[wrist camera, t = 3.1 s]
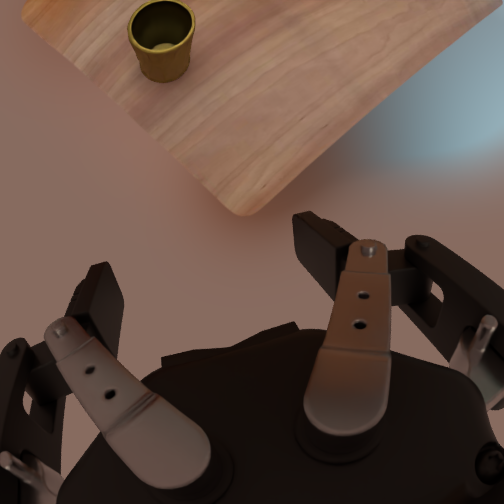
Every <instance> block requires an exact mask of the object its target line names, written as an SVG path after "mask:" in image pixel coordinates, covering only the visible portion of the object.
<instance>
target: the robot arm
mask: <svg viewBox="0 0 504 504" xmlns="http://www.w3.org/2000/svg"><path fill="white" fill-rule="evenodd" d="M292 223H293V234H294V246H295V252H296V255H297V258H298V260H299V261H300V263H301V264H302V265H303V266H304V267H305V268H306V269H307V271H308V272H309V273H310V274H311V275H312V276H313V278H314V279H315V280H316V281H317V282H318V283H319V285H320V286H321V287H322V288H323V289H324V290H325V291H326V293H327V294H328V295H329V296H330V297H331V299H332V300H333V301H334V305H333V309H332V313H331V317H330V321H329V324H328V328H327V330H321V329H302V330H299V328H298V327H297V325H296V323H295V322H290V323H287V324H283V325H280V326H277V327H274V328H271V329H268V330H264V331H261V332H259V333H257V334H255V335H254V336H251V337H249V338H248V339H246V340H243V341H242V342H239V343H238V344H235V345H234V346H231V347H226V348H212V349H196V350H190V351H186V352H182V353H177V354H173V355H169V356H164V357H161V365H162V367H161V368H159V369H157V370H155V371H153V372H152V373H150V374H149V375H147V376H146V377H144V378H143V379H142V380H141V381H139V380H138V379H137V378H136V377H135V376H133V375H132V374H131V373H130V372H129V371H128V370H127V369H126V368H125V367H124V366H123V365H122V364H121V363H120V362H119V361H118V360H117V354H118V346H119V338H120V330H121V323H122V317H123V310H124V299H123V295H122V292H121V290H120V288H119V285H118V283H117V281H116V278H115V276H114V273H113V271H112V268H111V266H110V264H109V263H108V262H107V261H106V262H102V263H99V264H95V265H91V267H90V269H89V271H88V273H87V276H86V278H85V279H83V280H82V281H81V283H80V284H79V285H78V286H77V287H76V289H75V291H74V294H73V296H72V298H71V302H70V303H69V306H68V308H67V311H66V313H65V316H64V317H62V318H59V319H57V320H56V321H54V322H53V323H52V324H50V325H49V327H48V328H47V329H46V331H45V333H44V339H45V341H43V342H41V343H39V344H36V345H34V346H32V347H30V345H29V344H28V343H27V341H26V340H25V339H24V338H17V339H14V340H12V341H11V342H9V343H8V344H7V345H6V346H5V347H4V349H3V350H2V352H1V354H0V504H504V448H502V446H500V444H499V443H498V441H497V439H496V437H495V435H494V433H493V430H492V428H491V425H490V422H489V418H488V415H487V412H488V411H489V410H499V409H502V408H504V289H502V288H501V287H500V286H499V285H497V284H496V283H495V282H493V281H492V280H491V279H490V278H488V277H487V276H486V275H484V274H483V273H482V272H480V271H479V270H478V269H476V268H475V267H474V266H472V265H471V264H470V263H468V262H467V261H465V260H464V259H463V258H461V257H460V256H458V255H457V254H455V253H454V252H453V251H451V250H450V249H448V248H447V247H445V246H444V245H442V244H441V243H439V242H438V241H436V240H435V239H433V238H431V237H428V236H424V235H412V236H409V237H408V238H407V239H406V240H405V248H404V249H400V250H390V251H388V250H387V247H386V245H385V244H383V243H381V242H379V241H376V240H371V239H363V240H358V239H357V238H355V237H354V236H353V235H351V234H350V233H349V232H347V231H345V230H344V229H343V228H340V226H339V225H337V224H336V223H334V222H333V221H329V220H326V219H321V218H320V217H318V216H317V215H315V214H314V213H313V212H311V211H307V212H302V213H298V214H294V215H293V218H292ZM433 281H434V282H435V283H436V284H437V285H439V287H440V288H441V289H442V291H443V295H444V300H443V303H442V302H441V301H440V300H439V299H438V298H437V297H436V296H434V295H433V294H432V293H431V288H432V283H433ZM397 305H398V306H399V308H400V309H401V310H402V311H403V312H404V313H405V314H406V315H407V316H408V317H409V318H410V320H411V321H412V322H413V323H414V324H415V325H416V326H417V327H418V328H419V329H420V330H421V332H422V333H423V334H424V335H425V336H426V337H427V338H428V339H429V340H430V342H431V343H432V344H433V345H434V346H435V347H436V348H437V350H438V351H439V352H440V353H441V354H442V355H443V357H444V358H445V359H446V360H447V361H448V362H449V368H448V367H444V366H441V365H437V364H434V363H430V362H427V361H424V360H420V359H416V358H414V357H410V356H407V355H403V354H400V353H397V352H394V351H391V350H390V339H391V338H390V337H391V306H397ZM25 391H26V392H27V393H28V394H29V395H30V396H31V398H32V399H33V400H32V404H31V409H30V414H29V415H28V414H27V413H26V411H25V410H24V406H23V396H24V392H25ZM71 393H74V395H75V396H76V398H77V399H78V401H79V402H80V404H81V405H82V407H83V408H84V409H85V411H86V412H87V413H88V415H89V416H90V418H91V419H92V421H93V422H94V423H95V425H96V426H97V427H98V429H99V430H100V433H99V434H98V435H97V437H96V438H95V440H94V441H93V442H92V444H91V445H90V446H89V448H88V449H87V450H86V452H85V453H84V454H83V456H82V457H81V458H80V460H79V461H78V462H77V464H76V465H75V466H74V468H73V469H72V470H71V472H70V473H69V475H68V476H67V477H66V479H65V480H64V479H63V478H62V476H61V445H62V431H63V419H64V409H65V401H66V395H69V394H71Z"/></svg>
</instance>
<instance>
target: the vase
mask: <svg viewBox="0 0 504 504" xmlns="http://www.w3.org/2000/svg"><path fill="white" fill-rule="evenodd" d="M127 30H128V38H129V41H130V43H131V45H132V47H133V49H134V51H135V53H136V56H137V58H138V60H139V61H140V68H141V71H142V73H143V74H144V75H145V76H146V77H147V78H148V79H150V80H151V81H154V82H159V83H166V82H170V81H173V80H176V79H177V78H179V77H180V76H182V75H183V74H184V72H185V71H186V70H187V68H188V66H189V63H190V50H191V43H192V38H193V34H194V31H195V16H194V13H193V11H192V10H191V9H190V7H189V6H187V5H186V4H184V3H183V2H181V1H179V0H151V1H148V2H146V3H144V4H143V5H141V6H140V7H139V8H138V9H137V10H136V11H135V12H134V13H133V15H132V16H131V18H130V21H129V23H128V27H127Z"/></svg>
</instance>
